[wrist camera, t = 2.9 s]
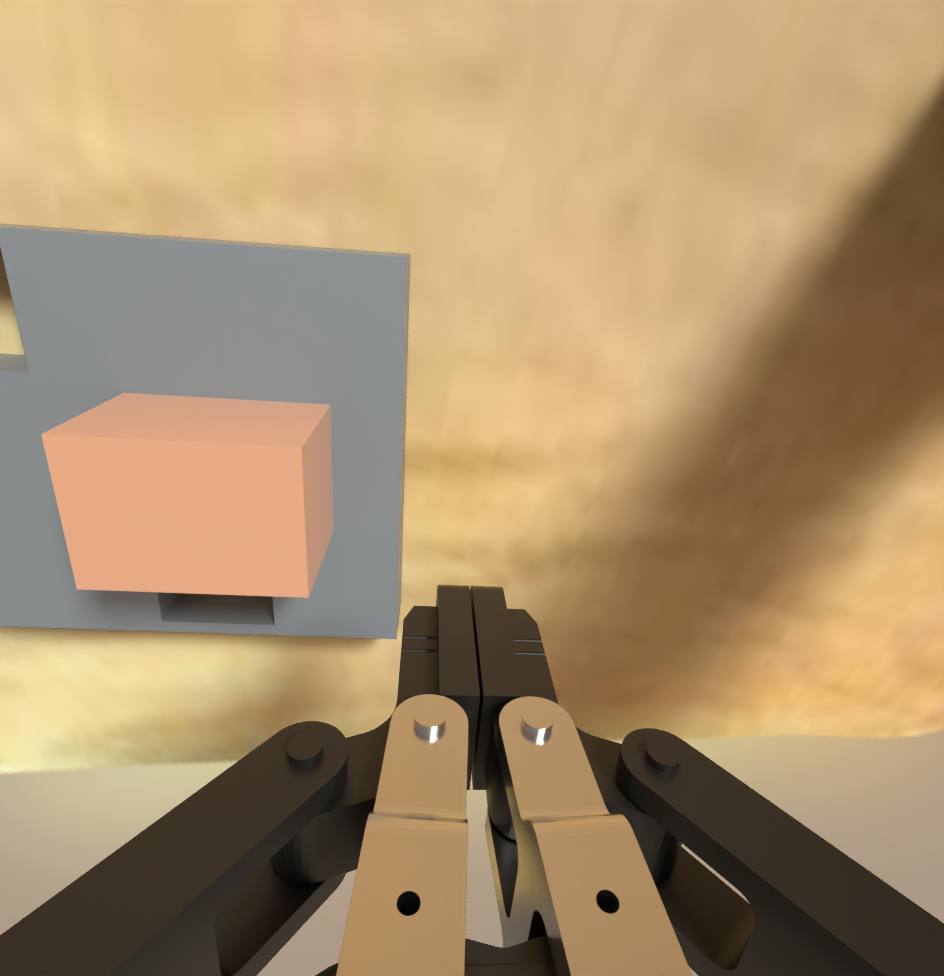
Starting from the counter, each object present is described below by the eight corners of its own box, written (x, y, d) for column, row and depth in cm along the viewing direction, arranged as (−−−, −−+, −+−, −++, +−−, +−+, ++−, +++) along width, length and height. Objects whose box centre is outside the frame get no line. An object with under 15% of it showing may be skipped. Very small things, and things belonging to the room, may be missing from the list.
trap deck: (410, 254, 21) (401, 260, 17) (400, 604, 27) (392, 671, 23) (-289, 202, 20) (-485, 194, 15) (-137, 585, 26) (-249, 653, 21)
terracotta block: (330, 404, 21) (301, 447, 17) (333, 530, 23) (308, 597, 18) (123, 392, 20) (41, 433, 16) (145, 522, 22) (77, 589, 18)
